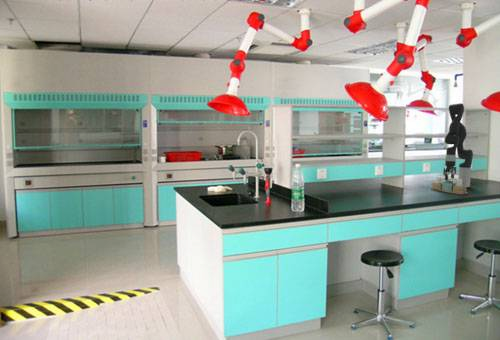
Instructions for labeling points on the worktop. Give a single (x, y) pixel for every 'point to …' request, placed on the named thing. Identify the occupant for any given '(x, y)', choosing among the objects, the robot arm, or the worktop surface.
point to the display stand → (449, 187)
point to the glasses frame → (450, 180)
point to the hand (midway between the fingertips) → (449, 179)
